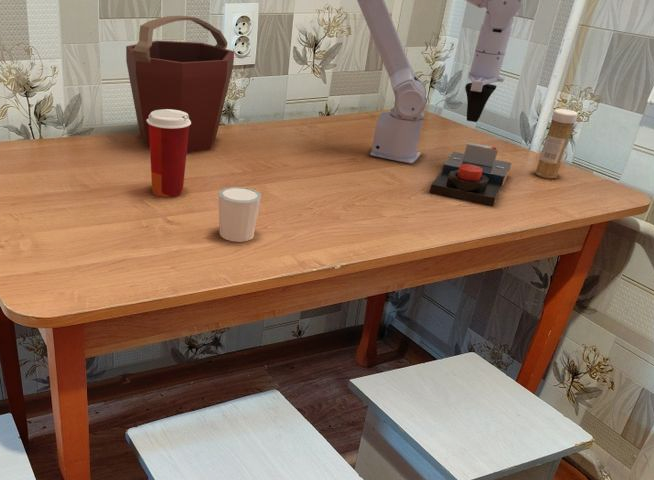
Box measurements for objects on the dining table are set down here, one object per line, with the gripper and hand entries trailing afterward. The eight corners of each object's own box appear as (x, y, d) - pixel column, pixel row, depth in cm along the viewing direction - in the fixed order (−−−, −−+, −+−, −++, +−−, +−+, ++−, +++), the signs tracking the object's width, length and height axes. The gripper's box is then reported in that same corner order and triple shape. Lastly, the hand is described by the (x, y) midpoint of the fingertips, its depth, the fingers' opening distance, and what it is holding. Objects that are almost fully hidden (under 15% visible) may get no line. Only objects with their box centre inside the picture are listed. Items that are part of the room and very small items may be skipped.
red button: (454, 179, 135) (457, 168, 134) (459, 172, 138) (461, 162, 137) (478, 184, 133) (481, 173, 132) (482, 177, 136) (484, 167, 135)
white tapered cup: (214, 225, 118) (216, 185, 114) (254, 226, 118) (258, 186, 114) (217, 243, 112) (220, 201, 108) (260, 243, 113) (264, 202, 109)
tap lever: (462, 161, 144) (467, 142, 142) (463, 159, 146) (468, 140, 143) (492, 167, 142) (497, 148, 140) (493, 165, 143) (498, 146, 141)
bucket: (146, 162, 142) (147, 28, 128) (105, 131, 158) (101, 9, 144) (249, 149, 153) (259, 24, 139) (200, 121, 169) (206, 6, 155)
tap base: (439, 178, 144) (443, 163, 142) (449, 165, 152) (453, 150, 150) (500, 191, 140) (504, 175, 138) (507, 176, 147) (511, 161, 146)
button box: (429, 193, 136) (433, 175, 134) (437, 181, 142) (442, 164, 141) (492, 206, 132) (498, 189, 130) (499, 194, 138) (504, 176, 136)
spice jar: (561, 177, 149) (583, 112, 141) (548, 180, 147) (569, 115, 139) (542, 170, 152) (563, 107, 145) (529, 173, 150) (549, 109, 142)
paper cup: (194, 188, 131) (197, 112, 124) (179, 202, 125) (181, 122, 118) (155, 181, 133) (156, 105, 126) (139, 194, 127) (139, 116, 120)
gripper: (505, 60, 133) (486, 132, 140) (515, 49, 144) (497, 116, 151) (467, 54, 135) (450, 126, 143) (480, 44, 146) (463, 110, 154)
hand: (472, 120), depth 147 cm, fingers closed
